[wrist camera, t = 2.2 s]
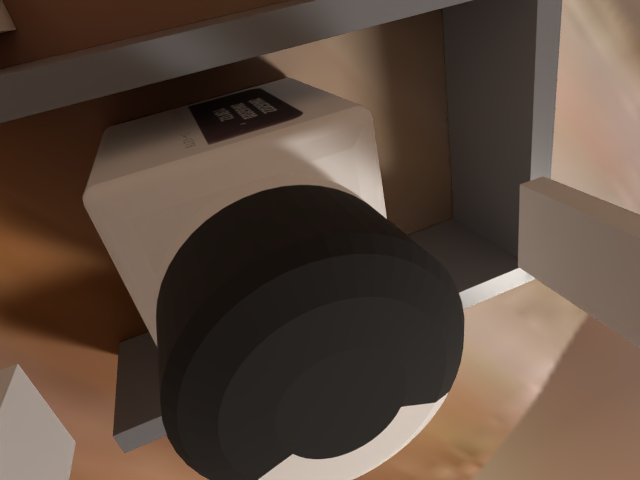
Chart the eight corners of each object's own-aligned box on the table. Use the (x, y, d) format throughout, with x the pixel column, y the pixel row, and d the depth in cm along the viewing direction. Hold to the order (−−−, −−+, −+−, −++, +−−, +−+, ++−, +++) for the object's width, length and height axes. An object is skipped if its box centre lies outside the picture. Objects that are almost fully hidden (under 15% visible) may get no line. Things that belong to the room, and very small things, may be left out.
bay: (127, 358, 21) (124, 453, 17) (-32, 76, 15) (-110, 102, 10) (469, 227, 25) (544, 274, 21) (460, -40, 19) (566, -60, 14)
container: (99, 127, 17) (23, 330, 6) (292, 74, 18) (516, 155, 7) (173, 290, 21) (210, 599, 10) (327, 235, 22) (510, 445, 11)
